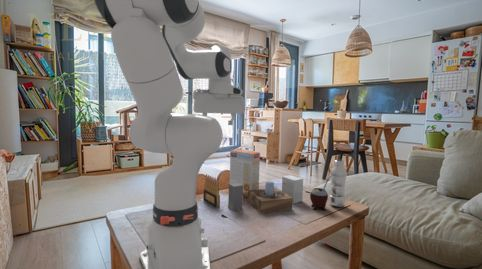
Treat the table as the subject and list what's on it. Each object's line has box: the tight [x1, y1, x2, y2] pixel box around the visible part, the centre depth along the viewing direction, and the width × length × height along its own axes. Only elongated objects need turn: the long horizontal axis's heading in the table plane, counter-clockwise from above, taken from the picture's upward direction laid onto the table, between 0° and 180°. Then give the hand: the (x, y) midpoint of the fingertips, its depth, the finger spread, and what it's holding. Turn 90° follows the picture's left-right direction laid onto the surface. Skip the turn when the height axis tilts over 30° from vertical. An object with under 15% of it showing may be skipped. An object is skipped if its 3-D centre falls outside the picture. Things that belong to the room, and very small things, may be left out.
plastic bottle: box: [328, 159, 348, 208], centre depth 113 cm, size 6×7×20 cm
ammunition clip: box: [202, 173, 221, 209], centre depth 112 cm, size 11×2×12 cm, turn 38°
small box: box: [281, 174, 304, 204], centre depth 119 cm, size 8×6×10 cm
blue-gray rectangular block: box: [264, 180, 275, 196], centre depth 112 cm, size 4×4×10 cm
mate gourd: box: [309, 174, 334, 211], centre depth 110 cm, size 8×8×15 cm
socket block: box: [247, 187, 293, 214], centre depth 112 cm, size 14×14×5 cm
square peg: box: [227, 183, 244, 212], centre depth 108 cm, size 4×4×10 cm
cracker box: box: [229, 148, 261, 198], centre depth 125 cm, size 14×6×21 cm, turn 49°
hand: (219, 125), depth 104 cm, fingers open, 8 cm apart
